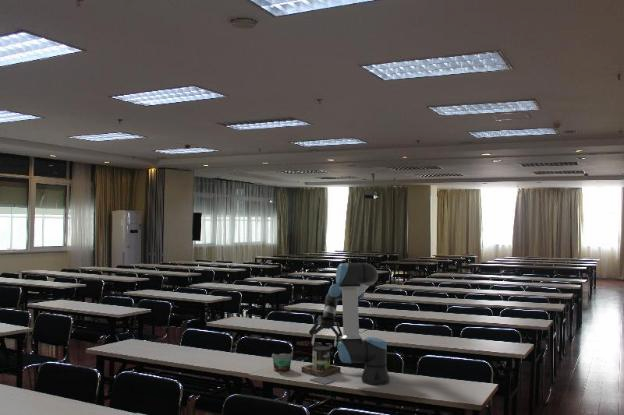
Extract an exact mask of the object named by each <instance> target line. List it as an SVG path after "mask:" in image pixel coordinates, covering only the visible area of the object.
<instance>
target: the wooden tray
mask: <svg viewBox="0 0 624 415" xmlns="http://www.w3.org/2000/svg"><path fill="white" fill-rule="evenodd" d="M341 369H342V367H341V366H337V365H333V364H330V369H328V370H325V371H319V370H315V369H312V364H308V365H303V366H301V373H303V374H307V375H310V376H311V375H312V376H315V377H324V378H327V377H329V376H333V375H337V374H339V373H342V371H341Z"/></svg>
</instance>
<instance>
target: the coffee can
mask: <svg viewBox="0 0 624 415" xmlns="http://www.w3.org/2000/svg"><path fill="white" fill-rule="evenodd" d="M311 349H312V362H311V363H312V369H315V370H319V371H325V370H328V369H330V365H331V347H329V346H327V345H326V346H325V345H317V346H313V347H312V348H311Z"/></svg>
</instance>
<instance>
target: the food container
mask: <svg viewBox="0 0 624 415" xmlns="http://www.w3.org/2000/svg"><path fill="white" fill-rule="evenodd" d="M271 357H272V362H273V370H274V371H275V372H278V373H286V372H290V371H291V363H292V358H293V352H290V353H279V354H276V353H272V354H271Z"/></svg>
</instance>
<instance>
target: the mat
mask: <svg viewBox="0 0 624 415" xmlns="http://www.w3.org/2000/svg"><path fill="white" fill-rule="evenodd" d="M309 381H310V382H313V383H318V384H320V385H324V386H325V385H329V384H331V383H332V384H333V383H335V382H336V380H335V379H330V378H329V377H328V378H327V377H318V376H316V377H315V378H310V379H309Z"/></svg>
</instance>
